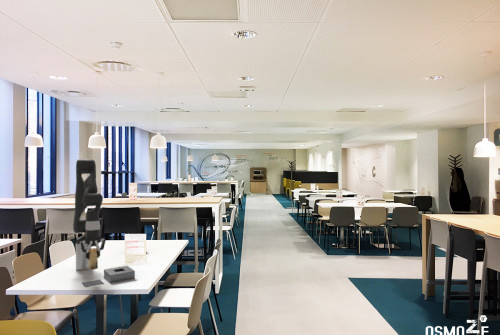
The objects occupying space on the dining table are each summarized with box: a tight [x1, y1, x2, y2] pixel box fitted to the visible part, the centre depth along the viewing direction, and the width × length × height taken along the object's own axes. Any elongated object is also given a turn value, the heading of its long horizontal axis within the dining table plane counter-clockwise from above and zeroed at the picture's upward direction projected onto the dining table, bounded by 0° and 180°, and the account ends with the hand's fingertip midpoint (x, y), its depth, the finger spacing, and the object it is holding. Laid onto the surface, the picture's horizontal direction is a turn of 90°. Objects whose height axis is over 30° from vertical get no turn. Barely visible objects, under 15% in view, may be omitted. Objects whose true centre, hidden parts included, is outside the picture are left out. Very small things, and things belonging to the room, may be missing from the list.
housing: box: [103, 265, 136, 284], centre depth 214 cm, size 14×14×5 cm
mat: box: [81, 278, 105, 288], centre depth 204 cm, size 10×10×1 cm
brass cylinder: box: [88, 247, 99, 271], centre depth 204 cm, size 5×5×11 cm
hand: (92, 258), depth 204 cm, fingers closed on brass cylinder, 5 cm apart
